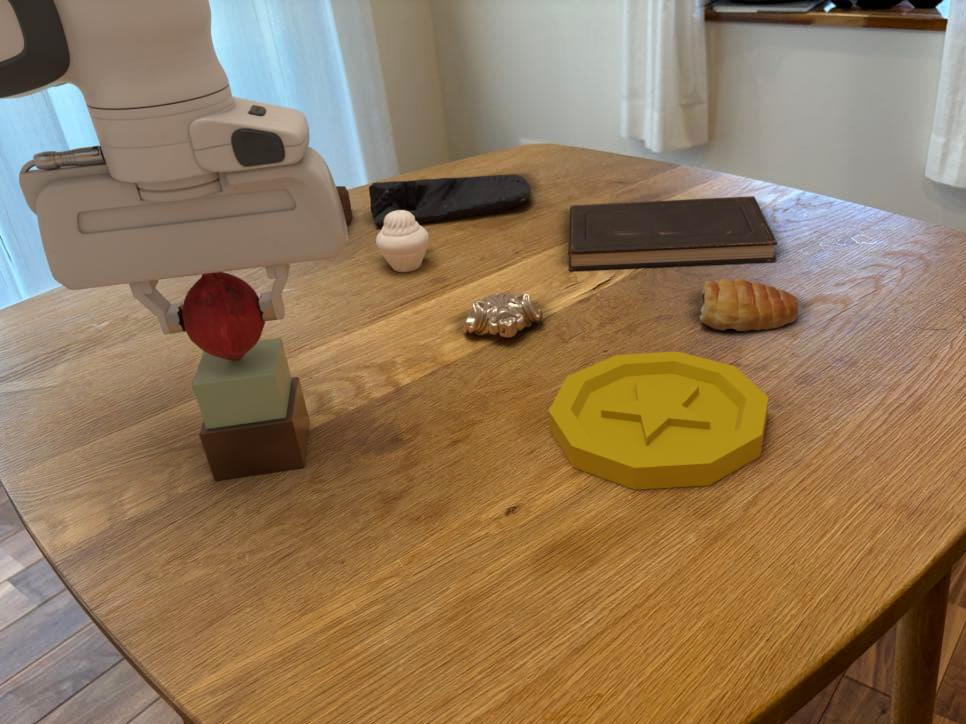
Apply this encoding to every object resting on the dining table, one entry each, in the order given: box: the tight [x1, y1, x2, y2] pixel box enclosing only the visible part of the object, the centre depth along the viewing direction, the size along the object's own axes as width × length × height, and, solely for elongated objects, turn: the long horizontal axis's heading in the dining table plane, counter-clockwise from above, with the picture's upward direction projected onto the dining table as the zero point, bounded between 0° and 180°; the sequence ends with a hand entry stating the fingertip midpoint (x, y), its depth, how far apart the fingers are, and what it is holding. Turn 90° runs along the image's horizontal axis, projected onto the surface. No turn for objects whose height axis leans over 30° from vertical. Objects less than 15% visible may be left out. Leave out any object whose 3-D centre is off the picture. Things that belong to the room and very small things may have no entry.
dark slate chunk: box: [368, 174, 531, 227], centre depth 118 cm, size 15×22×5 cm
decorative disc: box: [548, 350, 770, 491], centre depth 69 cm, size 17×18×2 cm
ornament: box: [462, 292, 544, 338], centre depth 85 cm, size 8×7×4 cm
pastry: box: [699, 277, 799, 332], centre depth 83 cm, size 9×7×4 cm
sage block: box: [191, 337, 292, 429], centre depth 67 cm, size 6×6×4 cm
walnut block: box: [198, 376, 311, 482], centre depth 70 cm, size 7×7×4 cm
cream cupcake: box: [375, 210, 430, 273], centre depth 100 cm, size 6×6×7 cm
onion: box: [182, 272, 266, 361], centre depth 64 cm, size 6×6×8 cm
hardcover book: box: [567, 195, 778, 272], centre depth 102 cm, size 16×23×2 cm
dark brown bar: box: [336, 185, 353, 227], centre depth 112 cm, size 11×4×5 cm, turn 177°
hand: (226, 323), depth 65 cm, fingers closed on onion, 6 cm apart
